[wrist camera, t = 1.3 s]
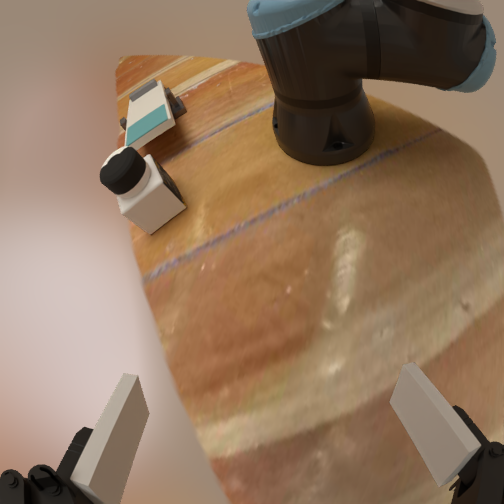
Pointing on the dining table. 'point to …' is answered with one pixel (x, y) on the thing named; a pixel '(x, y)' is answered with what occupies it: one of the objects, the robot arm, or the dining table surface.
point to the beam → (147, 114)
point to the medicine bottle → (141, 188)
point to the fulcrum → (174, 104)
